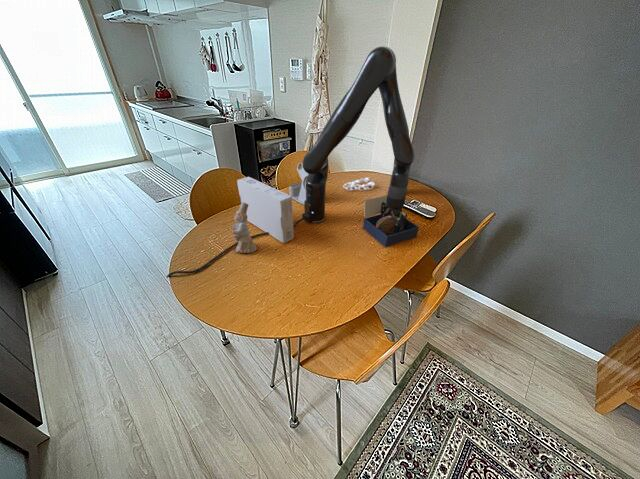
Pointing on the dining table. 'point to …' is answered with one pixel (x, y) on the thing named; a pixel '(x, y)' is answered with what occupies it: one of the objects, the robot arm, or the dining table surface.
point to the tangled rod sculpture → (357, 182)
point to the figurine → (242, 231)
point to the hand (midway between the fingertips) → (390, 227)
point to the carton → (393, 238)
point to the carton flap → (373, 205)
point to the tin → (387, 225)
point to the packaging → (267, 208)
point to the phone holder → (299, 186)
